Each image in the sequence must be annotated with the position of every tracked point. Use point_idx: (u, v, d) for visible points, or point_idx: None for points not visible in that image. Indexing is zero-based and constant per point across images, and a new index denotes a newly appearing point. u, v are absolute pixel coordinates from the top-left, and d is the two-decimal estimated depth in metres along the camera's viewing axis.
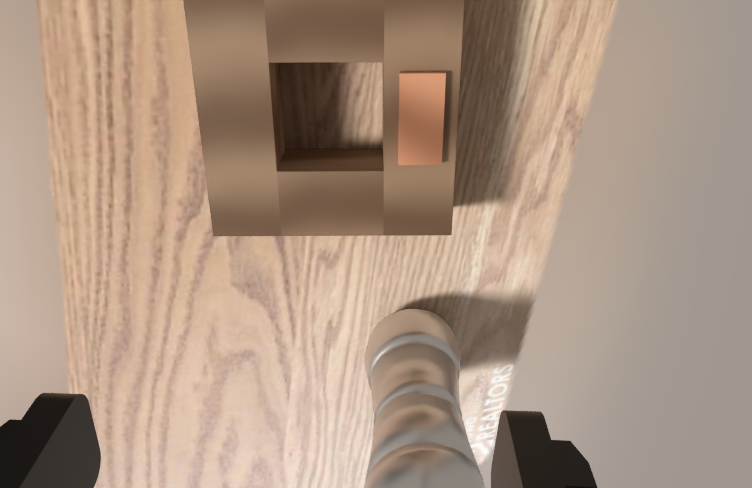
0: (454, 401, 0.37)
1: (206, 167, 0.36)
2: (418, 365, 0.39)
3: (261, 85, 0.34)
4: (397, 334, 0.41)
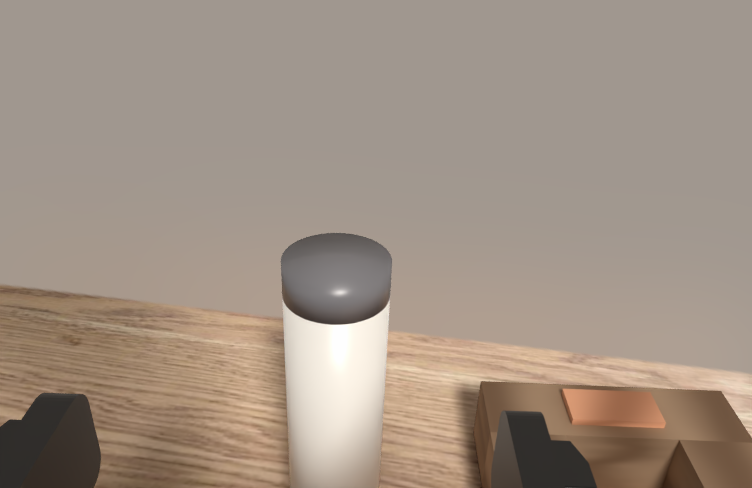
0: None
1: None
2: None
3: None
4: None
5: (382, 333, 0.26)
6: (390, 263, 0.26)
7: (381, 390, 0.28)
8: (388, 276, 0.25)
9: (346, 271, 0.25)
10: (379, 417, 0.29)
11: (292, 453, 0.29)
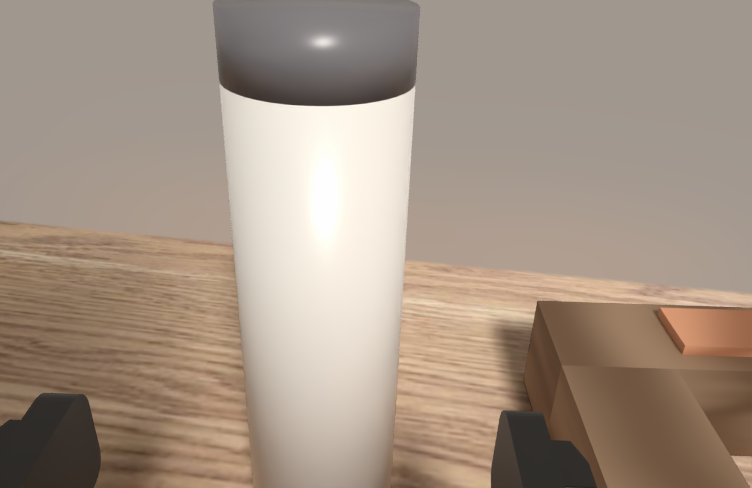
0: None
1: None
2: None
3: None
4: None
5: (402, 146, 0.14)
6: (417, 8, 0.14)
7: (399, 266, 0.16)
8: (414, 25, 0.13)
9: (336, 10, 0.13)
10: (395, 317, 0.17)
11: (249, 384, 0.17)
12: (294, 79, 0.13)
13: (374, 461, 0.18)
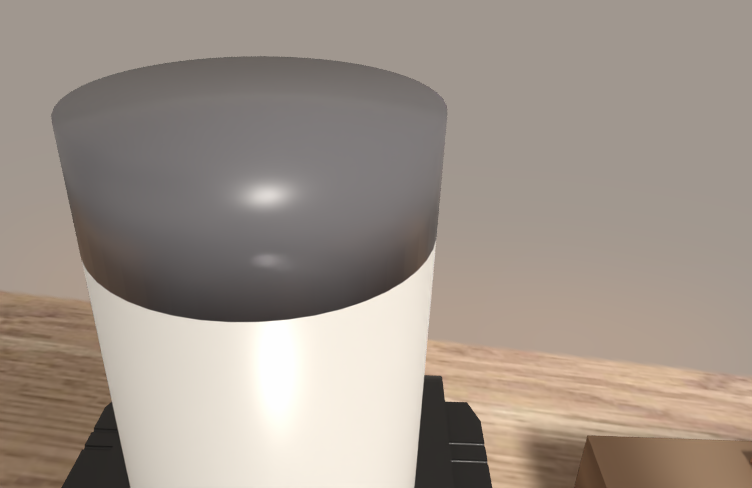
0: None
1: None
2: None
3: None
4: None
5: (412, 351, 0.08)
6: (442, 110, 0.07)
7: None
8: (439, 149, 0.07)
9: (287, 124, 0.07)
10: None
11: None
12: (197, 276, 0.06)
13: None
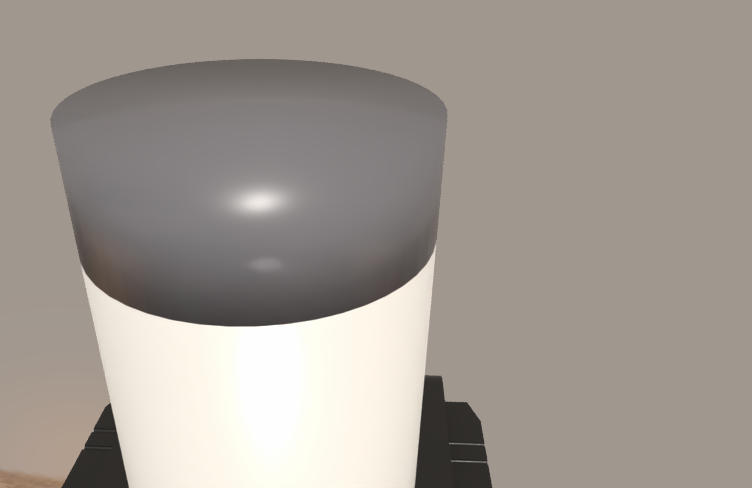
0: None
1: None
2: None
3: None
4: None
5: (413, 355, 0.08)
6: (442, 113, 0.07)
7: None
8: (439, 152, 0.07)
9: (287, 128, 0.07)
10: None
11: None
12: (196, 280, 0.06)
13: None
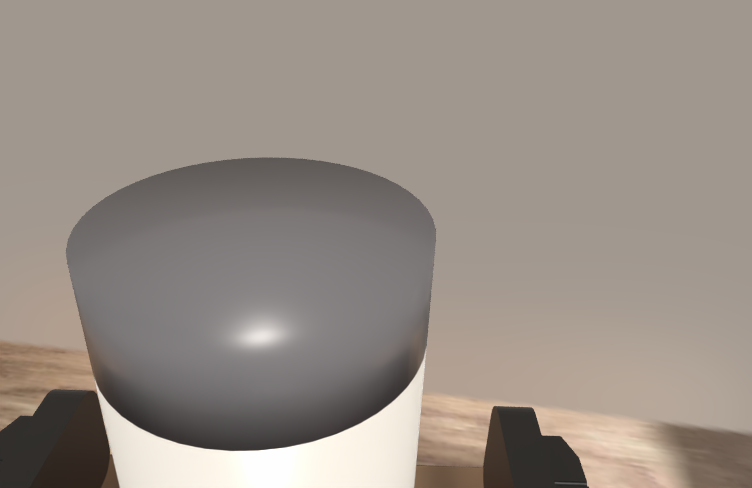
0: None
1: None
2: None
3: None
4: None
5: (404, 453, 0.09)
6: (431, 235, 0.08)
7: None
8: (427, 277, 0.08)
9: (285, 259, 0.07)
10: None
11: None
12: (202, 412, 0.07)
13: None
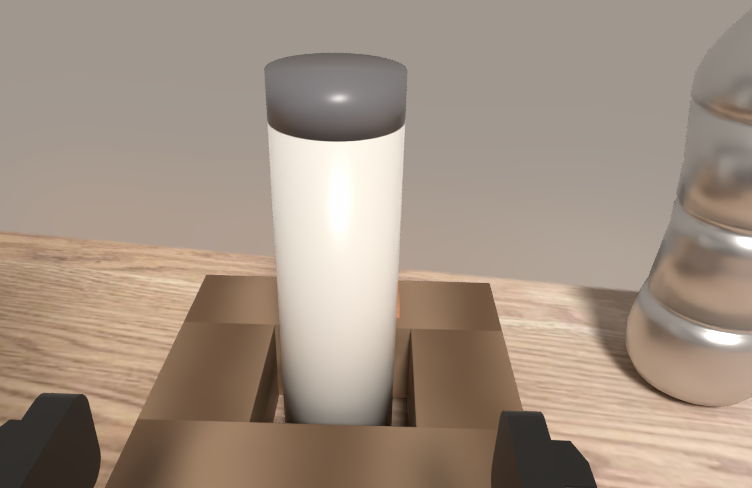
0: None
1: None
2: (664, 255, 0.29)
3: (281, 432, 0.23)
4: (654, 324, 0.29)
5: (396, 167, 0.20)
6: (405, 71, 0.20)
7: (395, 252, 0.22)
8: (403, 84, 0.19)
9: (349, 75, 0.19)
10: (392, 290, 0.23)
11: (284, 341, 0.24)
12: (322, 124, 0.19)
13: (378, 400, 0.24)
